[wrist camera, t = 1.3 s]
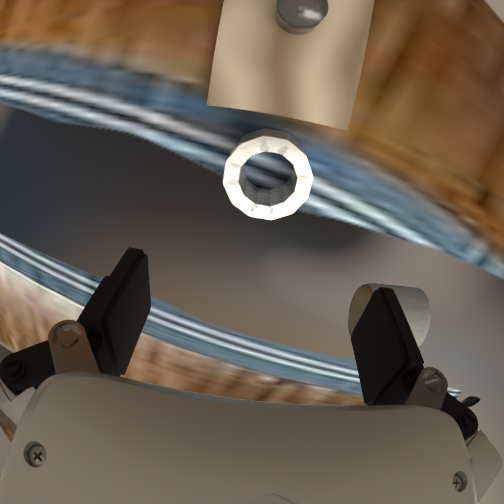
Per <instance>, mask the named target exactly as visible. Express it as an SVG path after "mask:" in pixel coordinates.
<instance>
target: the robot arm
mask: <svg viewBox="0 0 504 504" xmlns="http://www.w3.org/2000/svg"><path fill="white" fill-rule="evenodd" d="M150 308H151V298H150V285H149V271H148V256H147V254H144V252H143V250H142V249H135V248H128V249H127V251H126V252H125V254H124V255H123V257H122V258H121V260H120V261H119V263H118V264H117V266H116V267H115V269H114V270H113V272H112V274H111V275H110V276H106V277H104V278H103V280H102V281H101V283H100V284H99V286H98V287H97V289H96V291H95V292H94V294H93V295H92V297H91V298H90V300H89V302H88V303H87V305H86V307H85V308H84V310H83V311H82V313H81V315H80V316H79V318H78V320H77V321H74V320H64V321H61V322H59V323H57V324H55V325H54V326H53V327H52V328H51V330H50V332H49V335H48V340H47V341H44V342H42V343H39V344H36V345H34V346H31V347H28V348H26V349H23V350H20V351H18V352H15V353H12V354H10V355H8V356H7V357H5V358H4V359H3V360H2V362H1V364H0V504H478V502H479V500H480V499H481V498H482V496H483V495H484V494H485V492H486V491H487V489H488V488H489V487H490V485H491V484H492V482H493V481H494V479H495V478H496V476H497V475H498V473H499V471H500V470H501V467H502V458H501V456H500V454H499V453H498V451H497V450H496V448H495V447H494V446H493V444H492V443H491V442H490V441H489V439H488V438H487V437H486V435H485V434H484V433H483V431H482V430H479V431H478V430H477V429H478V420H477V417H476V415H475V414H474V413H473V412H472V411H471V410H470V409H469V408H468V407H466V406H465V405H464V404H462V403H461V402H459V401H458V400H457V399H456V398H454V397H453V396H452V395H450V394H449V393H448V392H447V389H448V383H447V380H446V378H445V376H444V375H443V373H442V372H440V371H439V370H438V369H436V368H433V367H426V368H424V367H423V363H424V361H423V358H422V356H421V353H420V350H419V348H418V345H417V343H416V340H415V338H414V335H413V333H412V330H411V328H410V326H409V323H408V321H407V319H406V316H405V314H404V312H403V309H402V307H401V305H400V303H399V300H398V298H397V296H396V294H395V292H394V290H393V289H392V288H387V287H379V288H378V290H375V291H374V292H373V294H372V296H371V298H370V300H369V302H368V304H367V306H366V308H365V309H364V311H363V313H362V315H361V317H360V319H359V321H358V323H357V324H356V326H355V328H354V330H353V332H352V335H351V341H352V346H353V350H354V355H355V359H356V364H357V369H358V373H359V378H360V383H361V388H362V393H363V398H364V403H365V404H367V405H368V406H322V405H299V404H283V403H271V402H260V401H251V400H242V399H234V398H227V397H220V396H213V395H207V394H201V393H195V392H189V391H184V390H179V389H174V388H169V387H164V386H159V385H154V384H150V383H145V382H141V381H137V380H132V379H128V378H123V377H120V375H124V374H125V372H126V370H127V367H128V365H129V362H130V359H131V357H132V354H133V352H134V349H135V346H136V344H137V341H138V339H139V336H140V334H141V331H142V329H143V326H144V324H145V322H146V319H147V317H148V314H149V312H150ZM17 425H18V426H17Z"/></svg>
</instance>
